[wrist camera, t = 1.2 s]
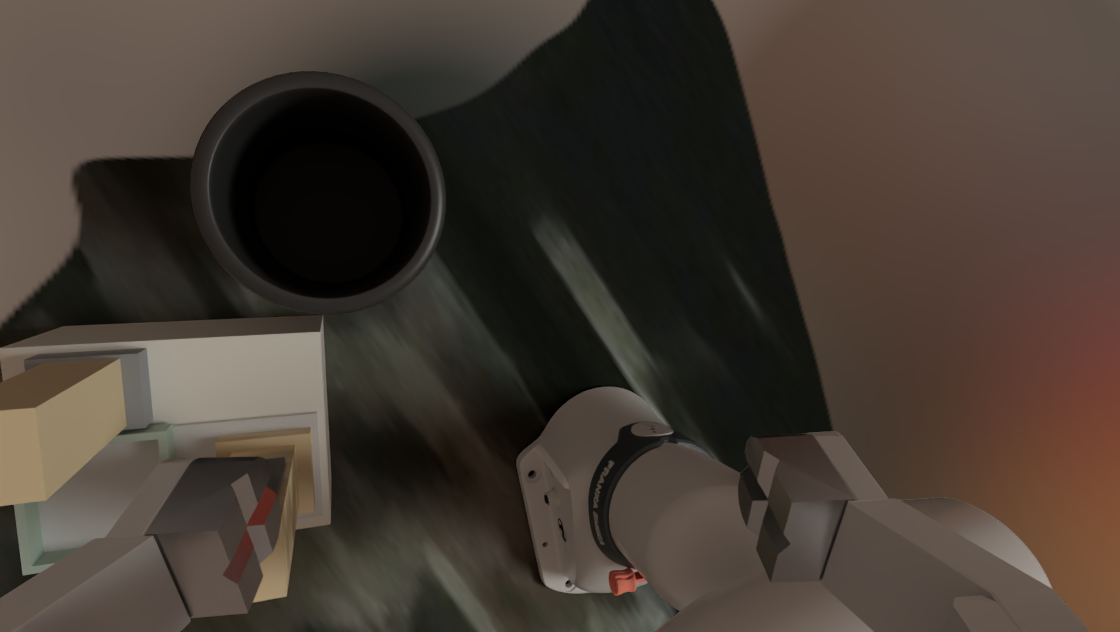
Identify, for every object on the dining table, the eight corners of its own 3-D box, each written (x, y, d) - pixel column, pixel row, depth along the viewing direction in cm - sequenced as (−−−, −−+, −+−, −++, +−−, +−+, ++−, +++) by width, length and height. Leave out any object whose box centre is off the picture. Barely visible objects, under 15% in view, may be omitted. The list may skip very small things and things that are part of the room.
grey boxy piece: (331, 476, 57) (328, 635, 34) (83, 507, 50) (-118, 727, 28) (322, 314, 55) (313, 371, 32) (63, 326, 48) (-171, 406, 26)
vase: (396, 127, 55) (455, 25, 28) (422, 278, 57) (499, 319, 30) (227, 140, 51) (104, 36, 24) (263, 304, 53) (188, 378, 26)
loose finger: (315, 504, 46) (307, 605, 34) (225, 516, 44) (181, 629, 32) (310, 427, 46) (301, 501, 33) (219, 436, 44) (171, 519, 31)
